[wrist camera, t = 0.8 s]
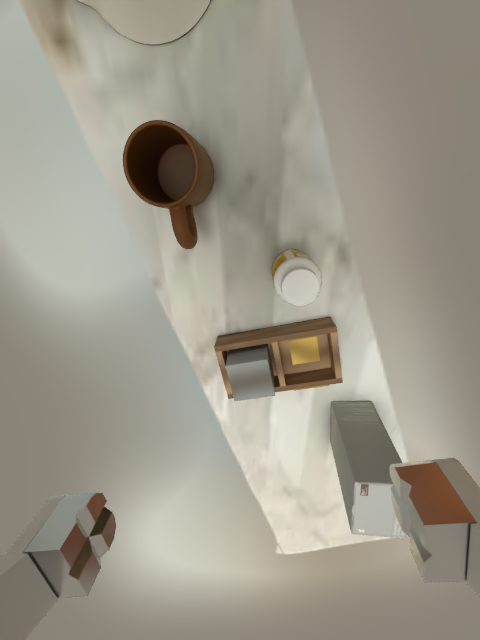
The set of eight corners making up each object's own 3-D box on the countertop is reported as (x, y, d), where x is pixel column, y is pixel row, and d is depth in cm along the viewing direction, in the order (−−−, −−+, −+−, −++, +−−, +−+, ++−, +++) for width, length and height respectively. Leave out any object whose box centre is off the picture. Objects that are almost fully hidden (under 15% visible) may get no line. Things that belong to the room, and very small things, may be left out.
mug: (230, 235, 39) (220, 244, 30) (175, 248, 40) (150, 260, 31) (206, 131, 35) (187, 106, 26) (146, 149, 36) (108, 130, 27)
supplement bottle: (277, 293, 41) (282, 318, 32) (266, 256, 39) (268, 271, 30) (316, 282, 40) (332, 304, 31) (306, 243, 38) (320, 255, 29)
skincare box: (368, 440, 49) (414, 541, 34) (324, 440, 50) (350, 540, 35) (372, 397, 46) (424, 488, 31) (325, 398, 47) (355, 487, 32)
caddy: (218, 336, 44) (210, 357, 38) (330, 316, 42) (341, 336, 36) (231, 386, 47) (226, 413, 41) (336, 371, 45) (348, 397, 39)
